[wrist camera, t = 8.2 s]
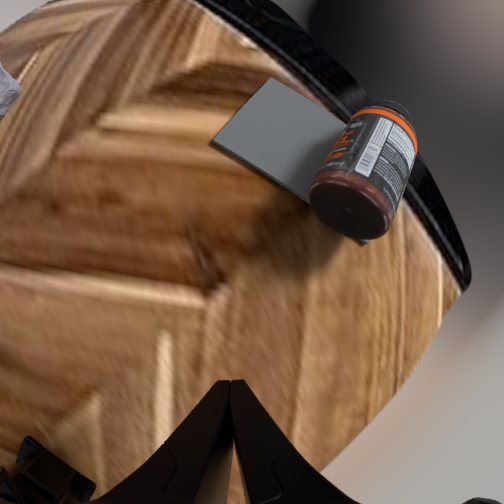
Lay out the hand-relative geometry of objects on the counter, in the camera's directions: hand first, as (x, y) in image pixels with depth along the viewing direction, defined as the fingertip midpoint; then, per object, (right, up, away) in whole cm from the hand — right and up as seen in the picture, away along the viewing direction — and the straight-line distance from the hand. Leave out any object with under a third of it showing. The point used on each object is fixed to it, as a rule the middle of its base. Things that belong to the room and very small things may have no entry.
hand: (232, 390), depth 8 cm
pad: (+6, +12, +14) cm, 20 cm away
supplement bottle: (+6, +6, +9) cm, 13 cm away
